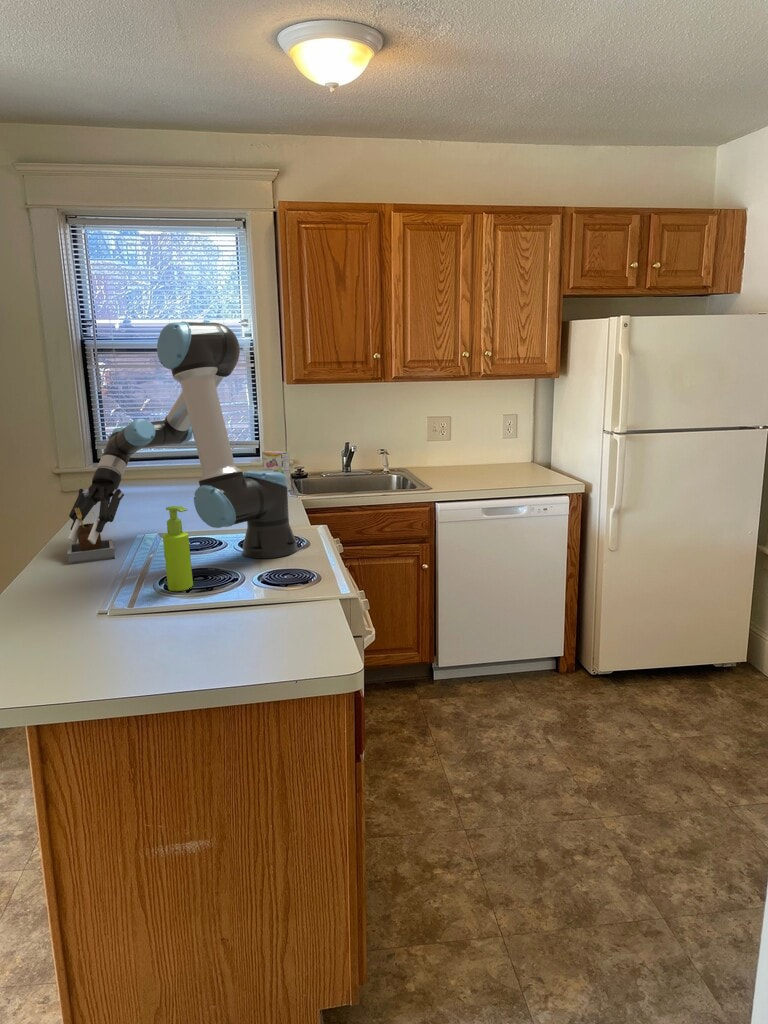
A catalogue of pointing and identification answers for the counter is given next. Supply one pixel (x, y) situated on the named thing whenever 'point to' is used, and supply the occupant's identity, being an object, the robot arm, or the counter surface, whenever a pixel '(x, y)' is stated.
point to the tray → (90, 553)
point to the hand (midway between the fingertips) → (81, 541)
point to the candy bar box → (277, 464)
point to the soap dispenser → (177, 553)
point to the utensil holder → (87, 534)
